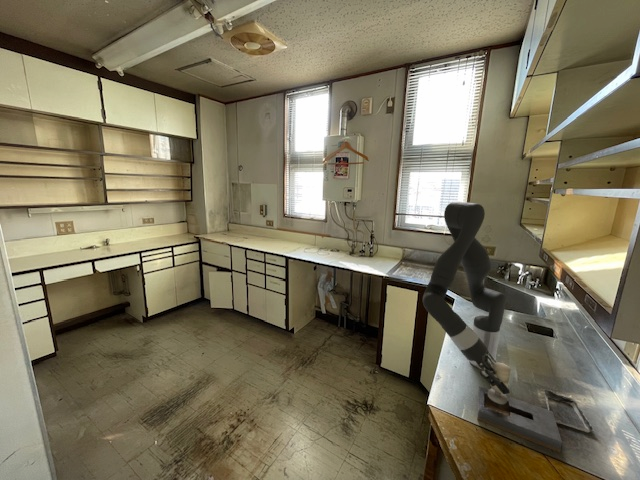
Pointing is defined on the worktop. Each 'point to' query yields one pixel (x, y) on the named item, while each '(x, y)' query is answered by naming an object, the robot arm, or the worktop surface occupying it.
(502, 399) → the keyhole peg
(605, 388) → the worktop surface
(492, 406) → the keyhole board
